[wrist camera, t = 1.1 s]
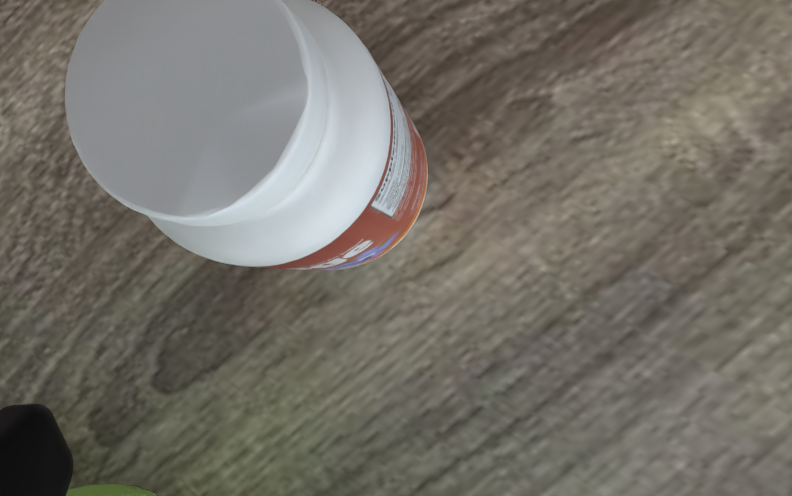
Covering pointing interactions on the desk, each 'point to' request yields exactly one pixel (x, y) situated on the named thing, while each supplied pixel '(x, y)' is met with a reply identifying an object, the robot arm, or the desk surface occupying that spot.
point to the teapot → (109, 490)
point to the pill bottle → (246, 130)
